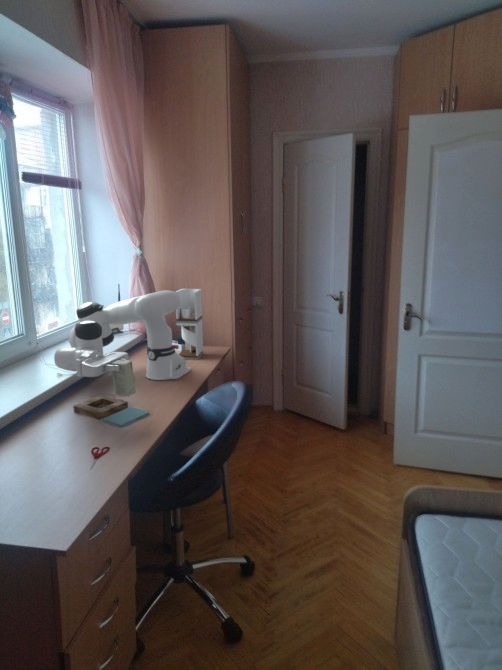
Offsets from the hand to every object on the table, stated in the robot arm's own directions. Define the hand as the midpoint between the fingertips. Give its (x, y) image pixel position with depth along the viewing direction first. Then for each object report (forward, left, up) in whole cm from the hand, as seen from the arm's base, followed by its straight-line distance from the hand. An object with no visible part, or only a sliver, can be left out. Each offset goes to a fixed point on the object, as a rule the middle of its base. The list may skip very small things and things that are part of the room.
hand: (124, 365), depth 174 cm
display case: (-75, -32, -20) cm, 84 cm away
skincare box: (0, -1, -11) cm, 11 cm away
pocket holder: (0, -14, -20) cm, 24 cm away
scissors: (+27, +15, -21) cm, 37 cm away
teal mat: (0, -1, -20) cm, 20 cm away
